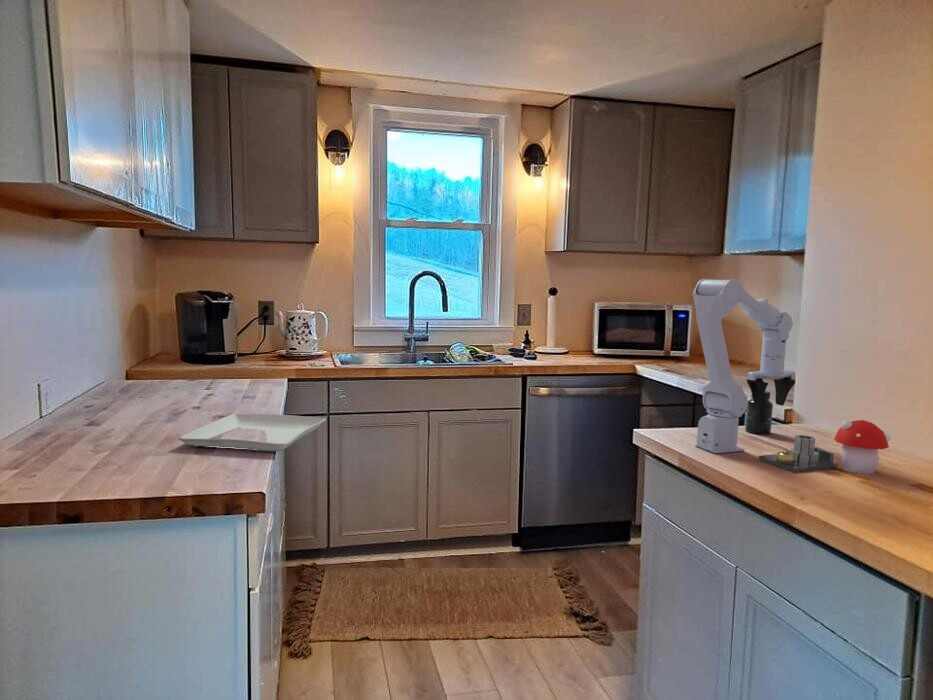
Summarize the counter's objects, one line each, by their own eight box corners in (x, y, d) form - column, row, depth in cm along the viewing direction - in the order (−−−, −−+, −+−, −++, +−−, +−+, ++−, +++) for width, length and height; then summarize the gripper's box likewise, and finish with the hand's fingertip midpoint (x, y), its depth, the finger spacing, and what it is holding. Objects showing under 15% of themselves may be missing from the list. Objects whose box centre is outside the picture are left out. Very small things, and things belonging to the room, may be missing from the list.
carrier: (794, 472, 144) (795, 455, 143) (758, 459, 154) (759, 443, 153) (837, 467, 148) (838, 451, 148) (799, 455, 158) (801, 440, 158)
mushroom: (878, 466, 151) (883, 417, 149) (892, 480, 140) (898, 427, 139) (828, 461, 154) (832, 413, 153) (838, 474, 144) (843, 422, 142)
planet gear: (804, 464, 147) (806, 441, 147) (783, 457, 153) (785, 434, 152) (823, 462, 149) (825, 439, 149) (802, 455, 155) (804, 433, 154)
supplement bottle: (773, 435, 179) (777, 394, 178) (747, 433, 180) (751, 392, 179) (767, 430, 186) (770, 390, 184) (742, 428, 187) (745, 388, 186)
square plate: (233, 425, 177) (233, 411, 176) (327, 430, 173) (327, 416, 173) (176, 451, 150) (176, 435, 150) (286, 458, 146) (285, 442, 146)
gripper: (763, 358, 164) (759, 409, 165) (805, 357, 168) (801, 407, 170) (743, 355, 170) (739, 404, 172) (784, 354, 175) (780, 402, 177)
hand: (768, 405), depth 171 cm, fingers open, 7 cm apart
